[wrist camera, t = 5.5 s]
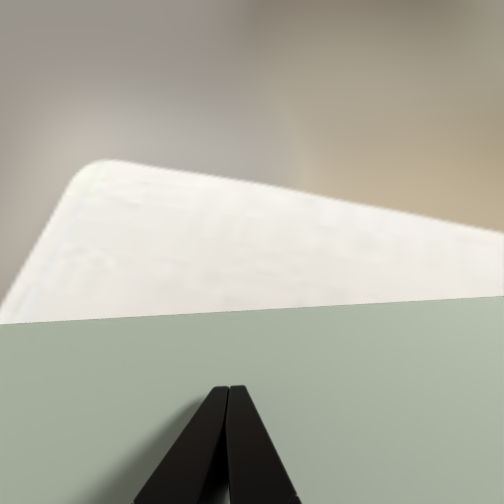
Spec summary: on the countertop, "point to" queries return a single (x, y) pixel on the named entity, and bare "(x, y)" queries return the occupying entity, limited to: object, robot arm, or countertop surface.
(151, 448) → the lid
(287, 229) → the countertop surface
